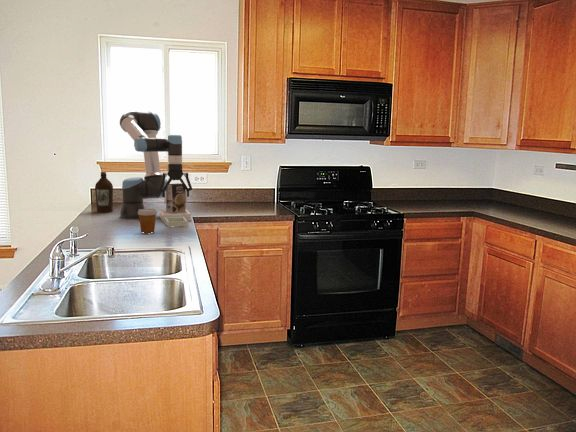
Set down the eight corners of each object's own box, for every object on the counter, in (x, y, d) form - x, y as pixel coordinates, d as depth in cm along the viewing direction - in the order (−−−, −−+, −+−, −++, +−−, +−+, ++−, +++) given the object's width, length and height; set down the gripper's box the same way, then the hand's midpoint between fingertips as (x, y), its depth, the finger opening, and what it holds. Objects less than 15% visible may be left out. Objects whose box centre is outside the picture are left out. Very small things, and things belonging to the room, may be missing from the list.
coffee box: (173, 214, 271) (172, 184, 269) (165, 212, 275) (165, 183, 272) (186, 212, 278) (185, 183, 276) (178, 211, 282) (178, 182, 280)
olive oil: (98, 210, 319) (96, 171, 315) (115, 210, 320) (113, 171, 316) (94, 212, 309) (92, 172, 304) (111, 212, 310) (110, 172, 306)
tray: (167, 227, 270) (167, 222, 269) (164, 222, 283) (164, 217, 282) (188, 226, 274) (187, 221, 273) (184, 222, 286) (183, 216, 286)
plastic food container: (162, 221, 286) (162, 214, 285) (159, 216, 302) (159, 210, 301) (190, 220, 292) (190, 213, 291) (185, 215, 307) (185, 209, 307)
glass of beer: (150, 230, 262) (149, 207, 260) (161, 233, 256) (160, 210, 254) (134, 232, 254) (133, 209, 252) (145, 235, 249) (144, 212, 246)
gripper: (154, 163, 265) (155, 204, 268) (197, 163, 273) (197, 203, 276) (152, 162, 272) (153, 202, 275) (195, 162, 280) (195, 201, 283)
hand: (175, 203), depth 276 cm, fingers closed on coffee box, 11 cm apart
